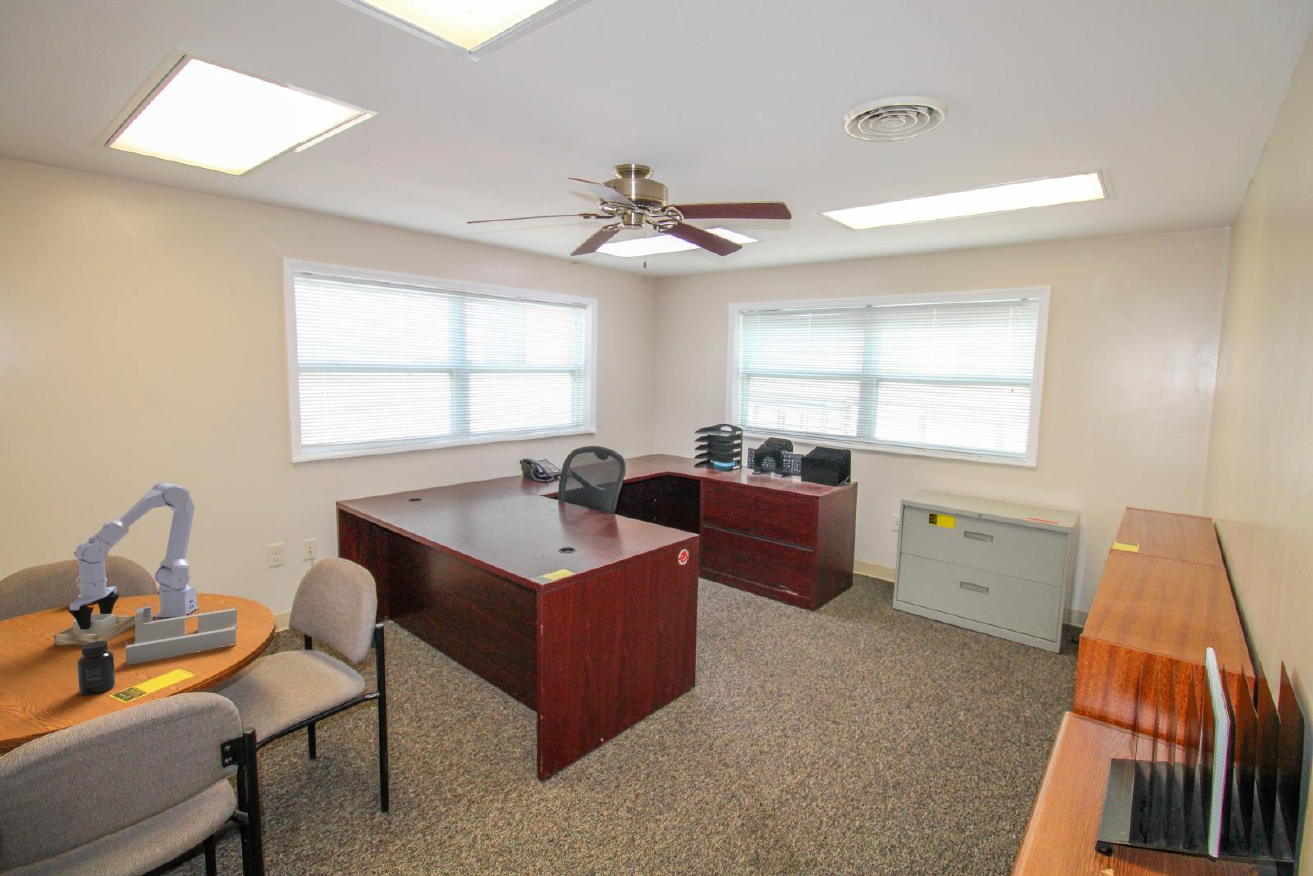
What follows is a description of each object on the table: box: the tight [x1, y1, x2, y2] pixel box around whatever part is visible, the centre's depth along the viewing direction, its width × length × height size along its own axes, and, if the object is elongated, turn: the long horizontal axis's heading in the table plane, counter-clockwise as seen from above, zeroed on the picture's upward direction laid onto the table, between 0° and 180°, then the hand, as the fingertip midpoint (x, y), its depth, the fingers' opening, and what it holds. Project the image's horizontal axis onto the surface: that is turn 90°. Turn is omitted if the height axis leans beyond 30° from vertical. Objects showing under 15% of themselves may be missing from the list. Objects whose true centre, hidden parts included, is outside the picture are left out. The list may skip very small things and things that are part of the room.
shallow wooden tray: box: [53, 615, 136, 646], centre depth 182 cm, size 12×14×3 cm
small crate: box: [72, 613, 117, 634], centre depth 182 cm, size 8×5×5 cm
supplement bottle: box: [76, 641, 116, 696], centre depth 152 cm, size 7×7×12 cm
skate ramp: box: [125, 602, 238, 666], centre depth 181 cm, size 25×23×10 cm
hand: (95, 623), depth 182 cm, fingers open, 7 cm apart
